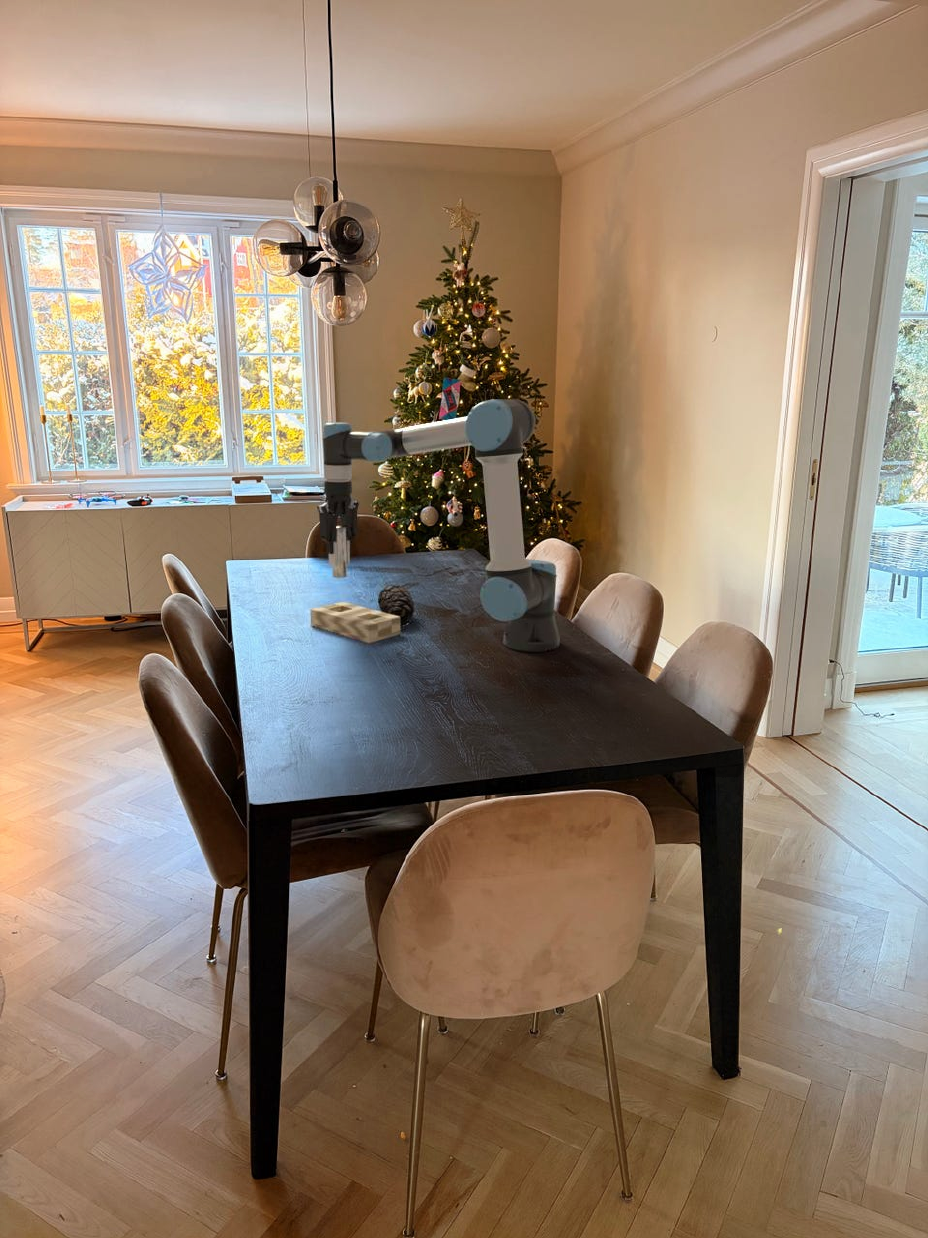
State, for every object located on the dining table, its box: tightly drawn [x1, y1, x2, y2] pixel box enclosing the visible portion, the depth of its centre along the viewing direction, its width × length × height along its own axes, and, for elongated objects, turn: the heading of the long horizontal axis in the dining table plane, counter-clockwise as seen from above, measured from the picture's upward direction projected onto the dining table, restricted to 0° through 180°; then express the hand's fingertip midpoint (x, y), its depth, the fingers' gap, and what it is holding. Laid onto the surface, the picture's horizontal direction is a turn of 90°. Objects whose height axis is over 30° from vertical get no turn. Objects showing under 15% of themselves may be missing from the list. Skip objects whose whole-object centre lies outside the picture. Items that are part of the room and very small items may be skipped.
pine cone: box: [377, 584, 416, 626], centre depth 261 cm, size 10×18×10 cm, turn 21°
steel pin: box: [331, 525, 348, 579], centre depth 250 cm, size 4×4×14 cm
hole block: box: [309, 601, 401, 644], centre depth 251 cm, size 24×12×5 cm, turn 49°
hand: (339, 563), depth 251 cm, fingers closed on steel pin, 4 cm apart
